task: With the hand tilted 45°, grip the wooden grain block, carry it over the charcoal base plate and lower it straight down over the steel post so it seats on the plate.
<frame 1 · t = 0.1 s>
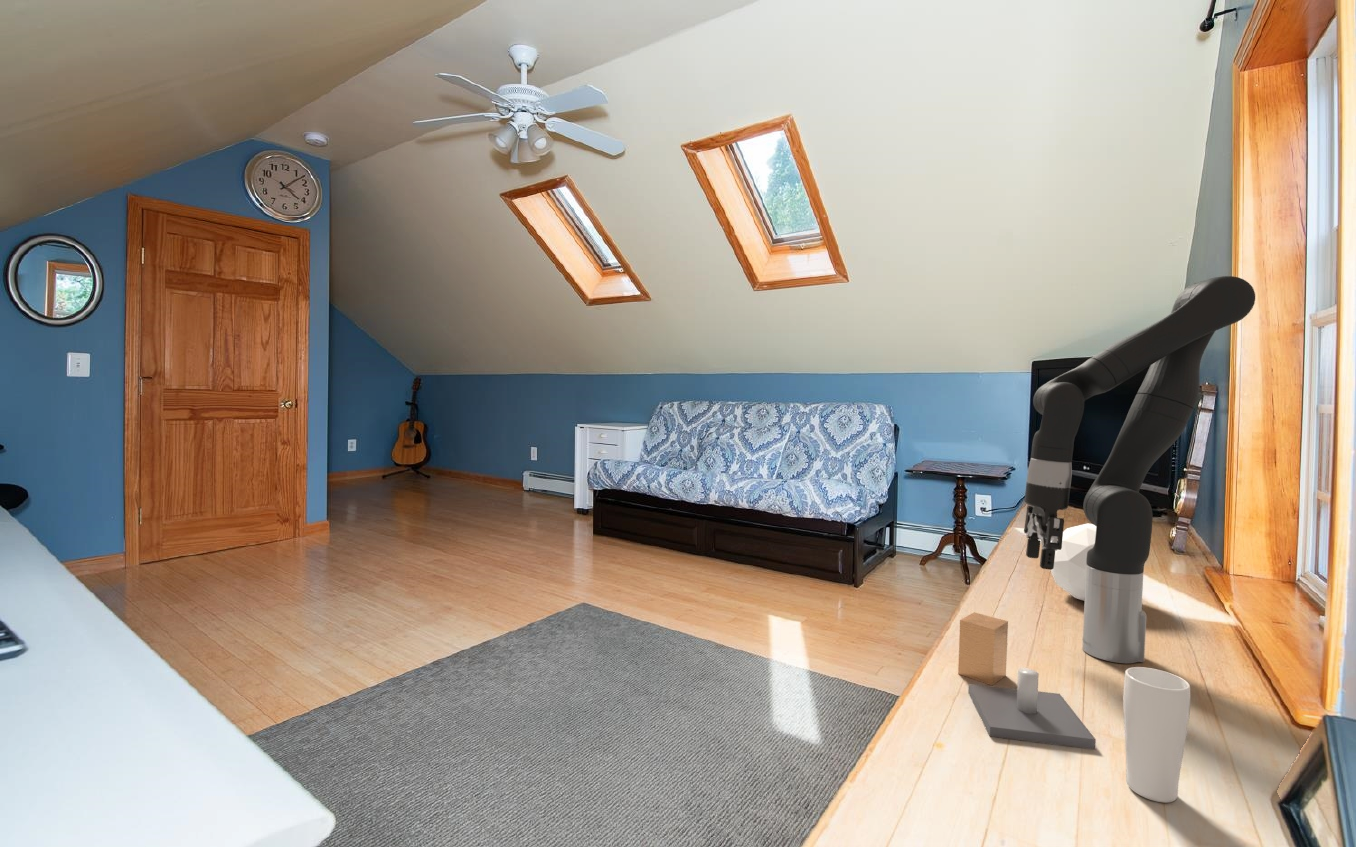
hand: (1038, 562, 125), 17 cm above the table, tool pointing down, fingers open, 8 cm apart
geometric orb: (1092, 601, 155), on the table
drinking glass: (1150, 793, 81), on the table
wooden grain block: (982, 674, 114), on the table
post base: (1026, 718, 99), on the table
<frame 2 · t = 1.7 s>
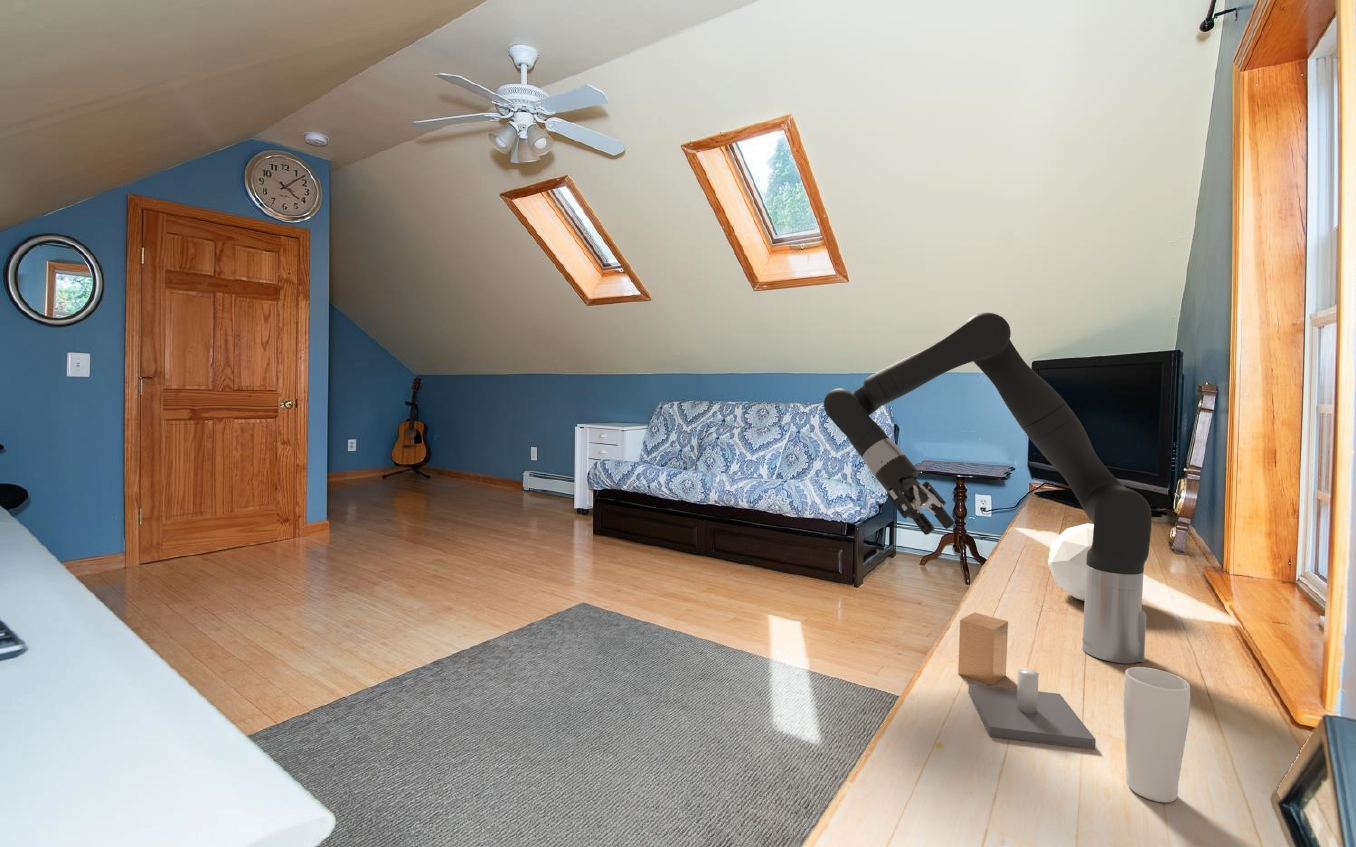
hand: (941, 529, 123), 24 cm above the table, tool tilted 45°, fingers open, 8 cm apart
nothing on the table moved.
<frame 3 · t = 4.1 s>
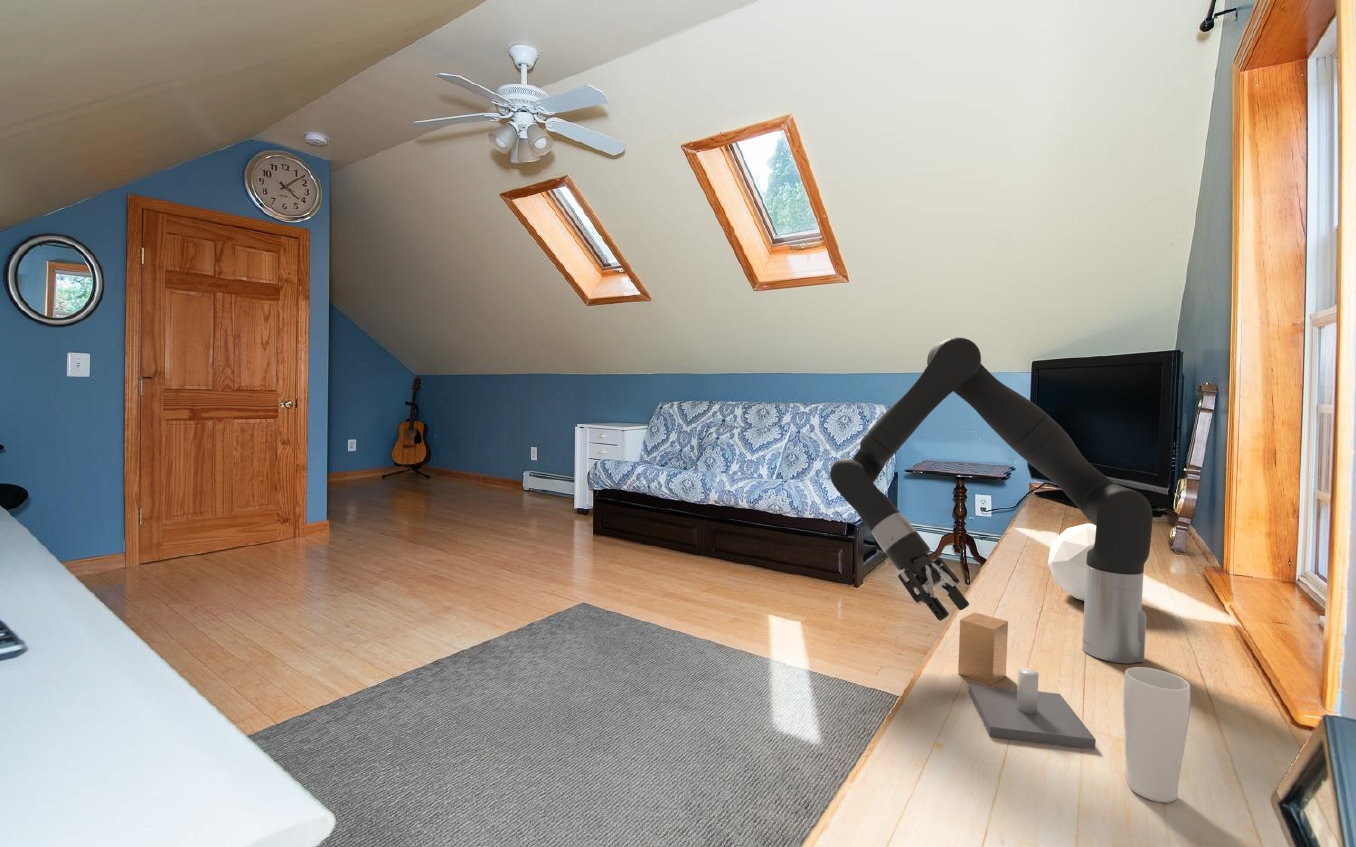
hand: (955, 612, 117), 10 cm above the table, tool tilted 45°, fingers open, 8 cm apart
nothing on the table moved.
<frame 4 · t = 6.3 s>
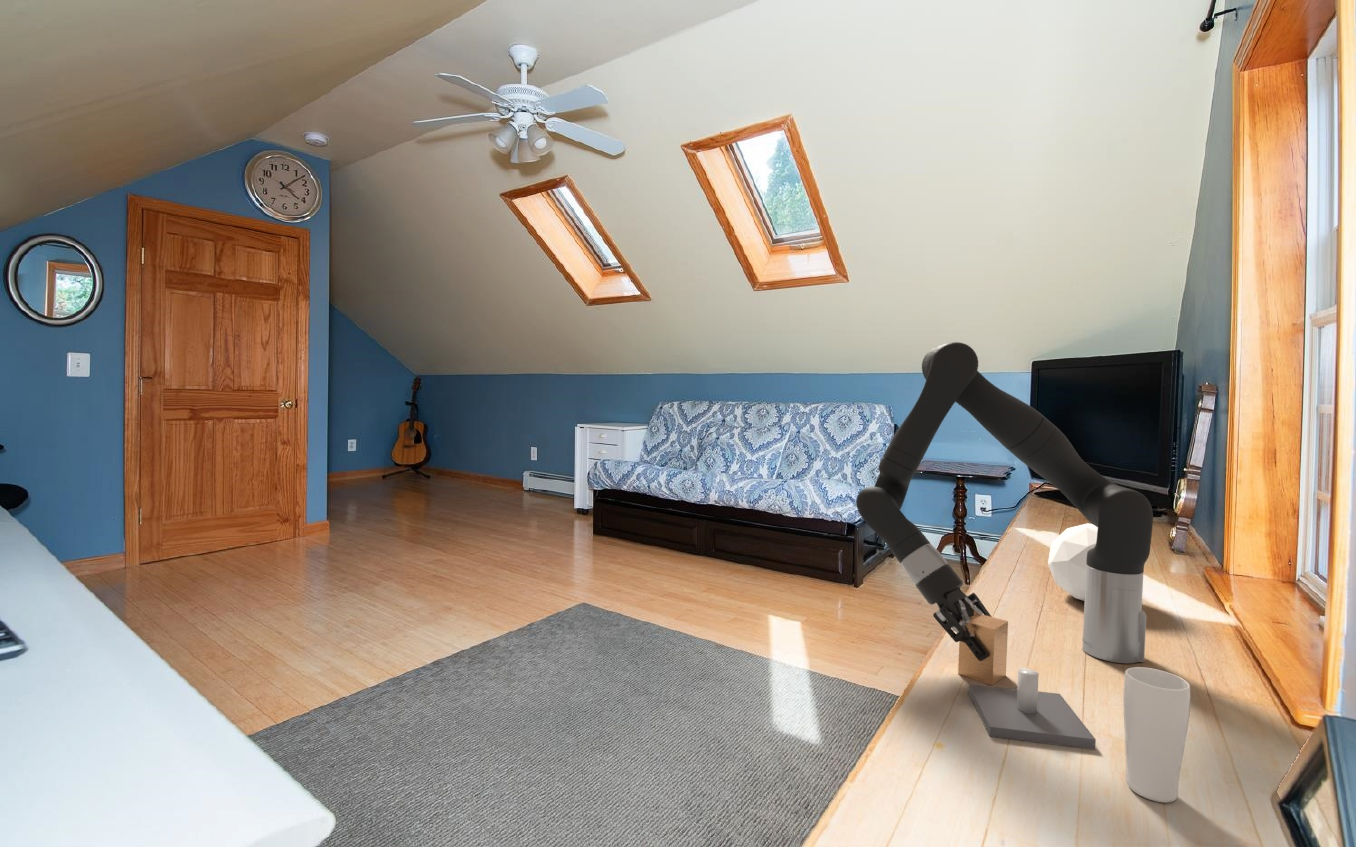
hand: (992, 653, 112), 5 cm above the table, tool tilted 45°, fingers closed on wooden grain block, 6 cm apart
wooden grain block: (982, 674, 114), on the table, touching gripper
everything else where it was.
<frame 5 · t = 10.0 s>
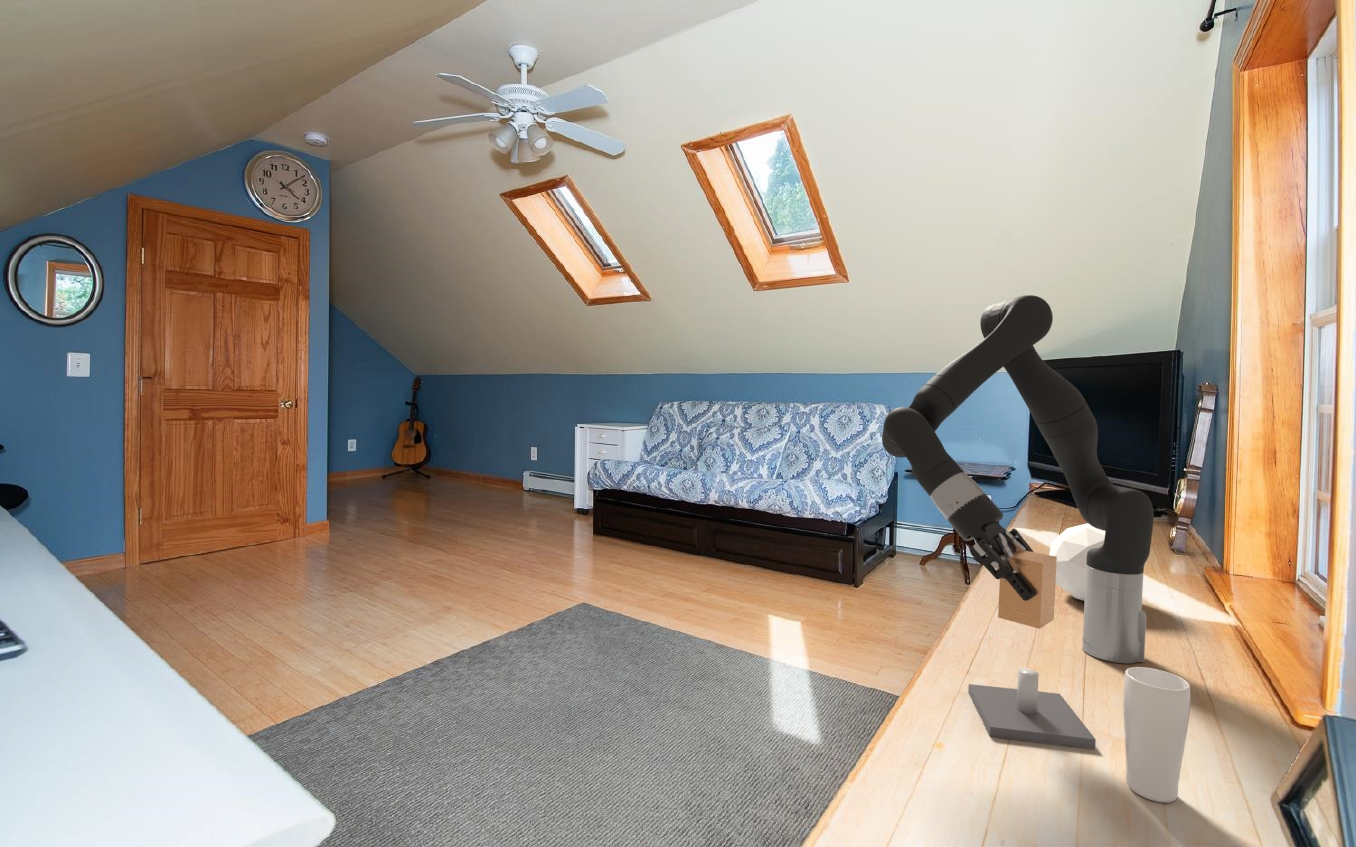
hand: (1039, 593, 97), 20 cm above the table, tool tilted 45°, fingers closed on wooden grain block, 6 cm apart
wooden grain block: (1025, 618, 98), point 16 cm above the table, touching gripper
everything else where it was.
when the fingers open (7 cm above the table, at t = 13.7 s): wooden grain block drops 1 cm, resting on post base.
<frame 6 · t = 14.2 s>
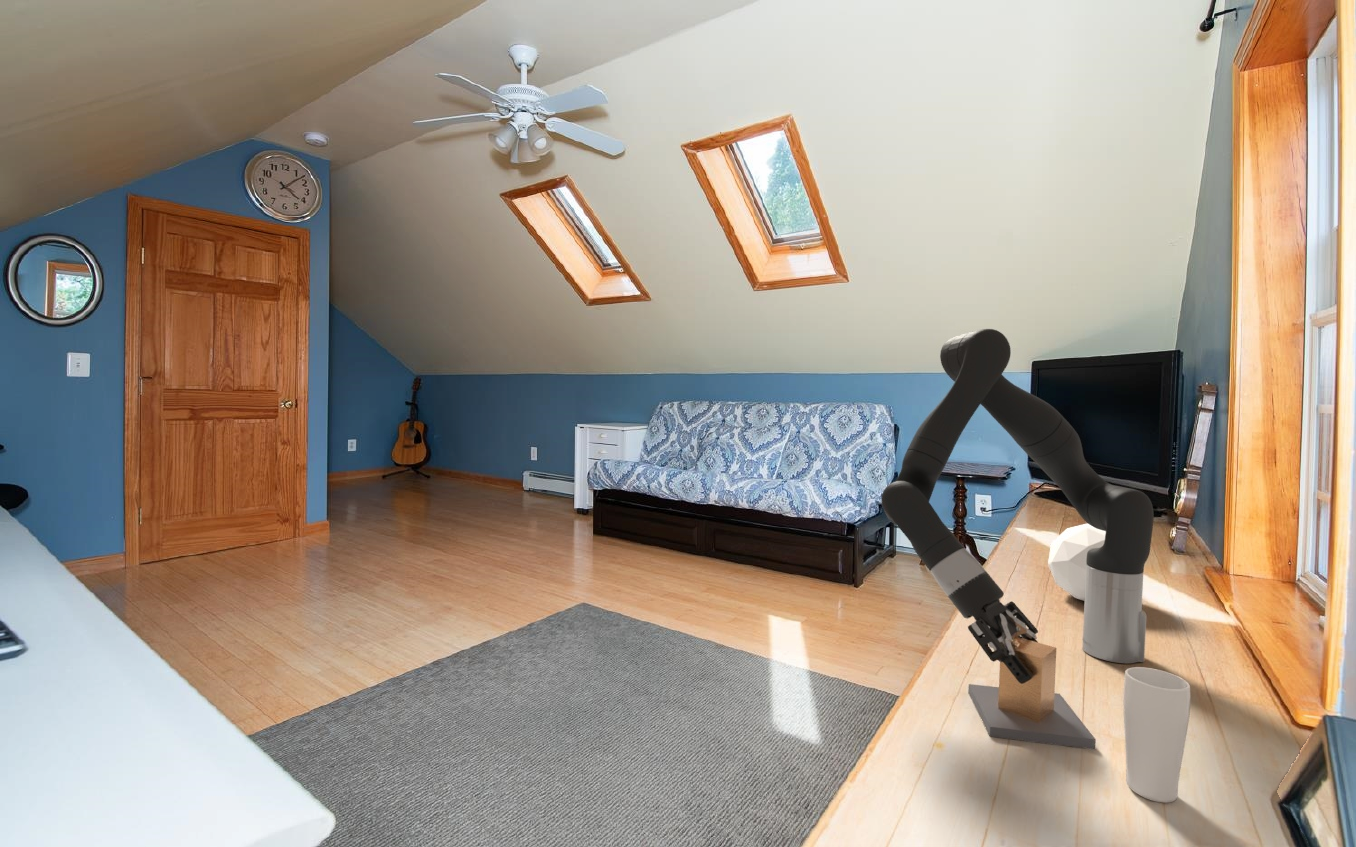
hand: (1037, 672, 97), 8 cm above the table, tool tilted 45°, fingers open, 8 cm apart
wooden grain block: (1025, 708, 99), point 1 cm above the table, touching post base
everything else where it was.
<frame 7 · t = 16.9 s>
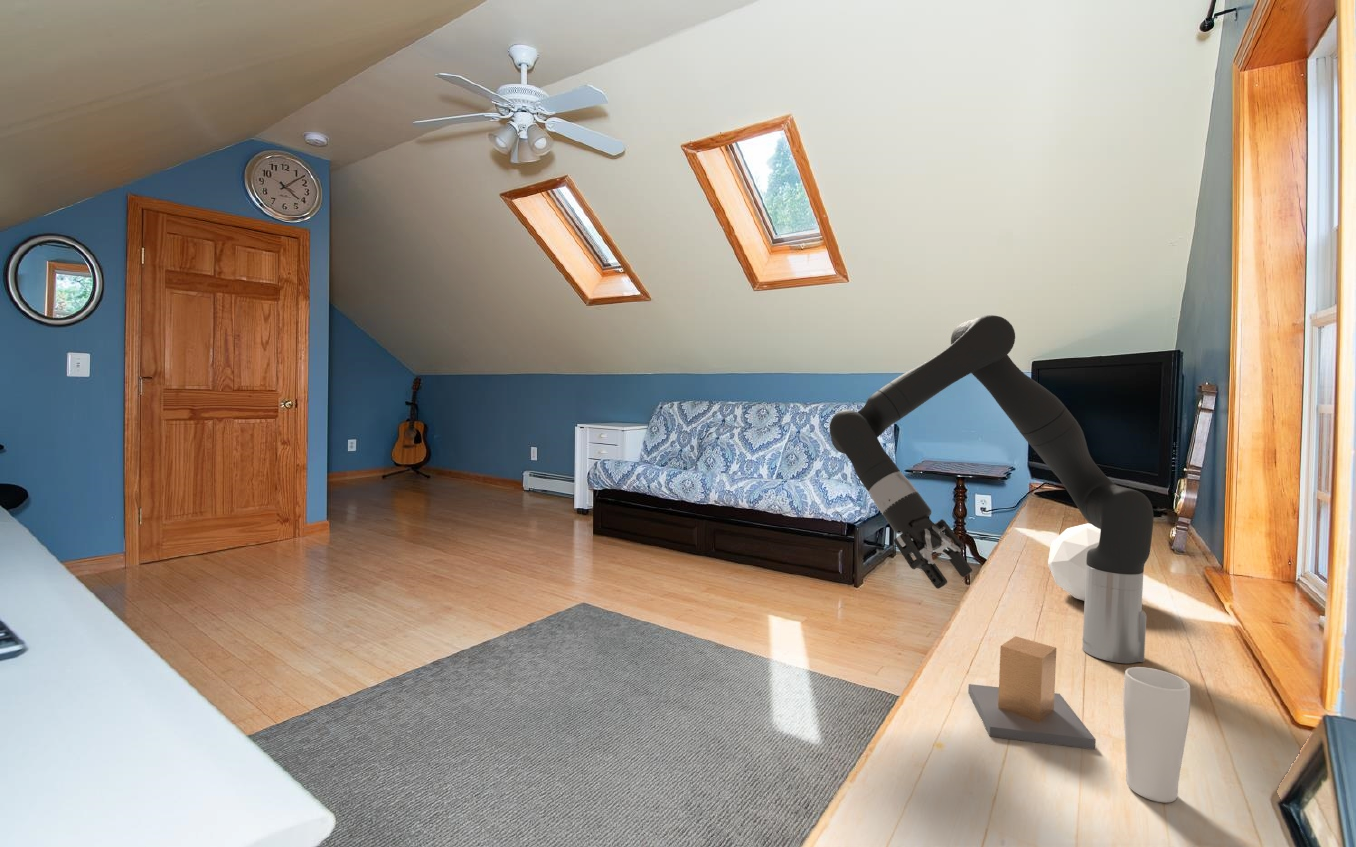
hand: (955, 580, 108), 19 cm above the table, tool tilted 40°, fingers open, 8 cm apart
nothing on the table moved.
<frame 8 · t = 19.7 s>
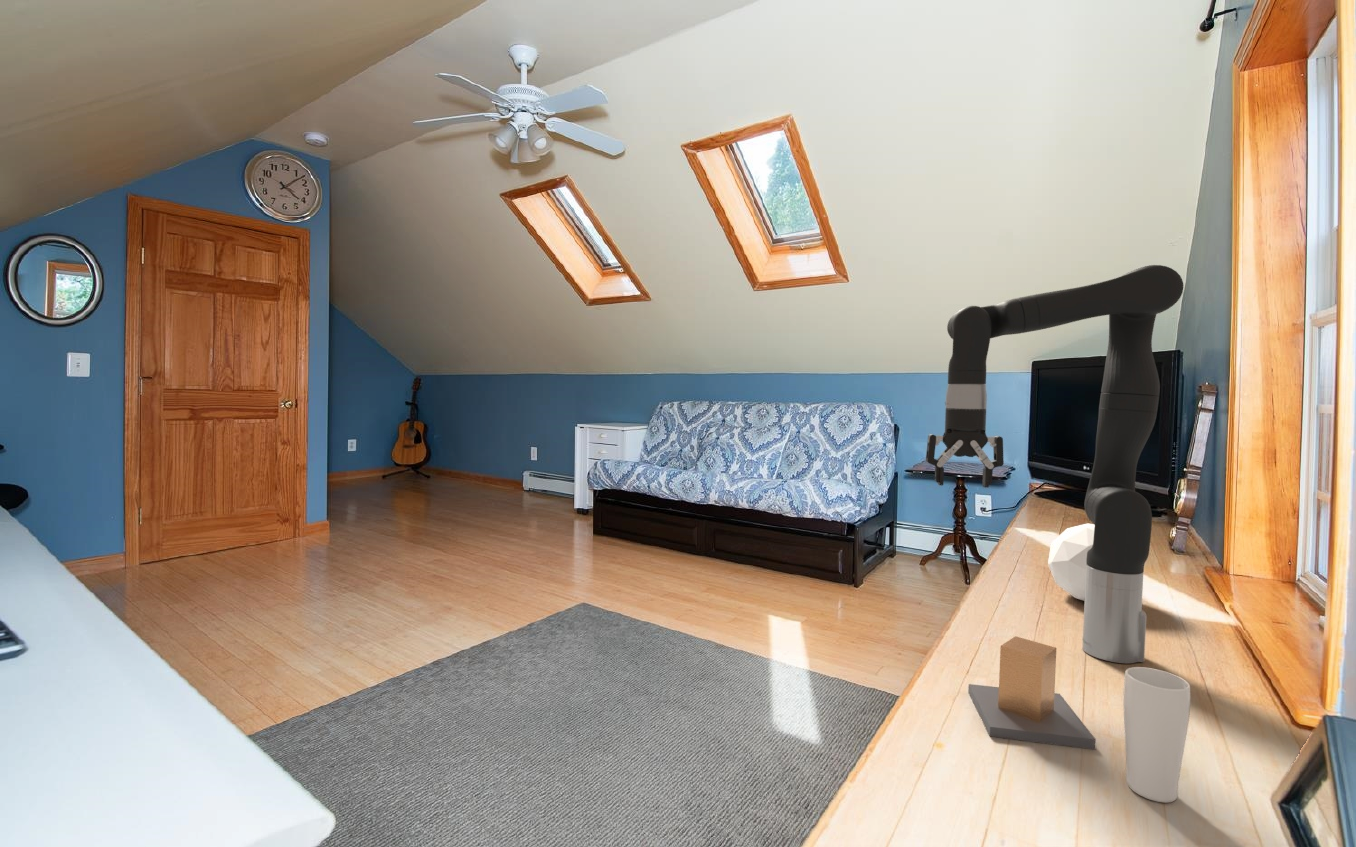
hand: (962, 486, 128), 32 cm above the table, tool pointing down, fingers open, 8 cm apart
nothing on the table moved.
at the end: wooden grain block 0.1 cm from the post base (horizontally); wooden grain block 0.1 cm off-centre on the post base, point 1.5 cm above the post base's base; wooden grain block tilted 0° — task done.
